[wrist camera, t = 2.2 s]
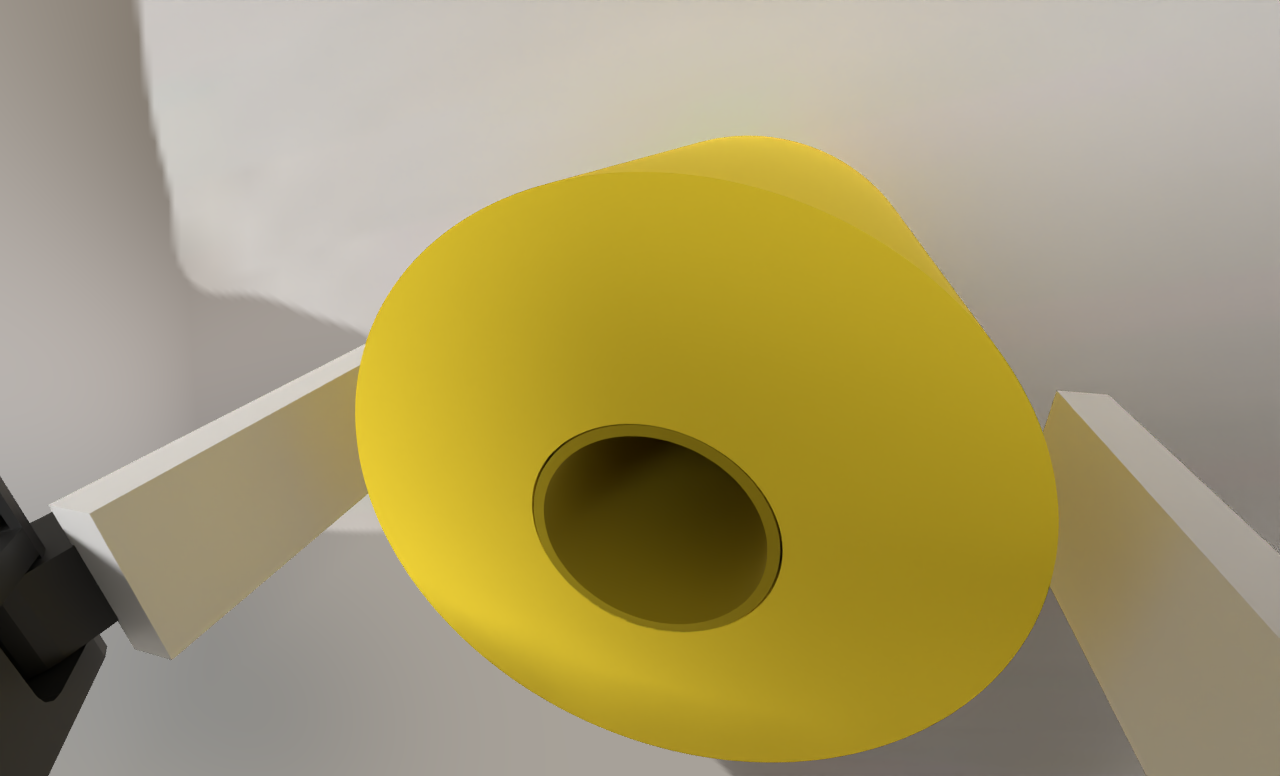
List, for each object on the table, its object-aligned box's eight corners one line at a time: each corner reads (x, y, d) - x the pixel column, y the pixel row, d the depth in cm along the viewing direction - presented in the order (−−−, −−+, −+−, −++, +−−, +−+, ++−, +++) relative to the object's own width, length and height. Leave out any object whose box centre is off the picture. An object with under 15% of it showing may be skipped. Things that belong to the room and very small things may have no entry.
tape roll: (607, 92, 14) (337, 71, 6) (1002, 195, 13) (1302, 337, 5) (555, 409, 19) (365, 624, 11) (837, 509, 18) (852, 838, 10)
